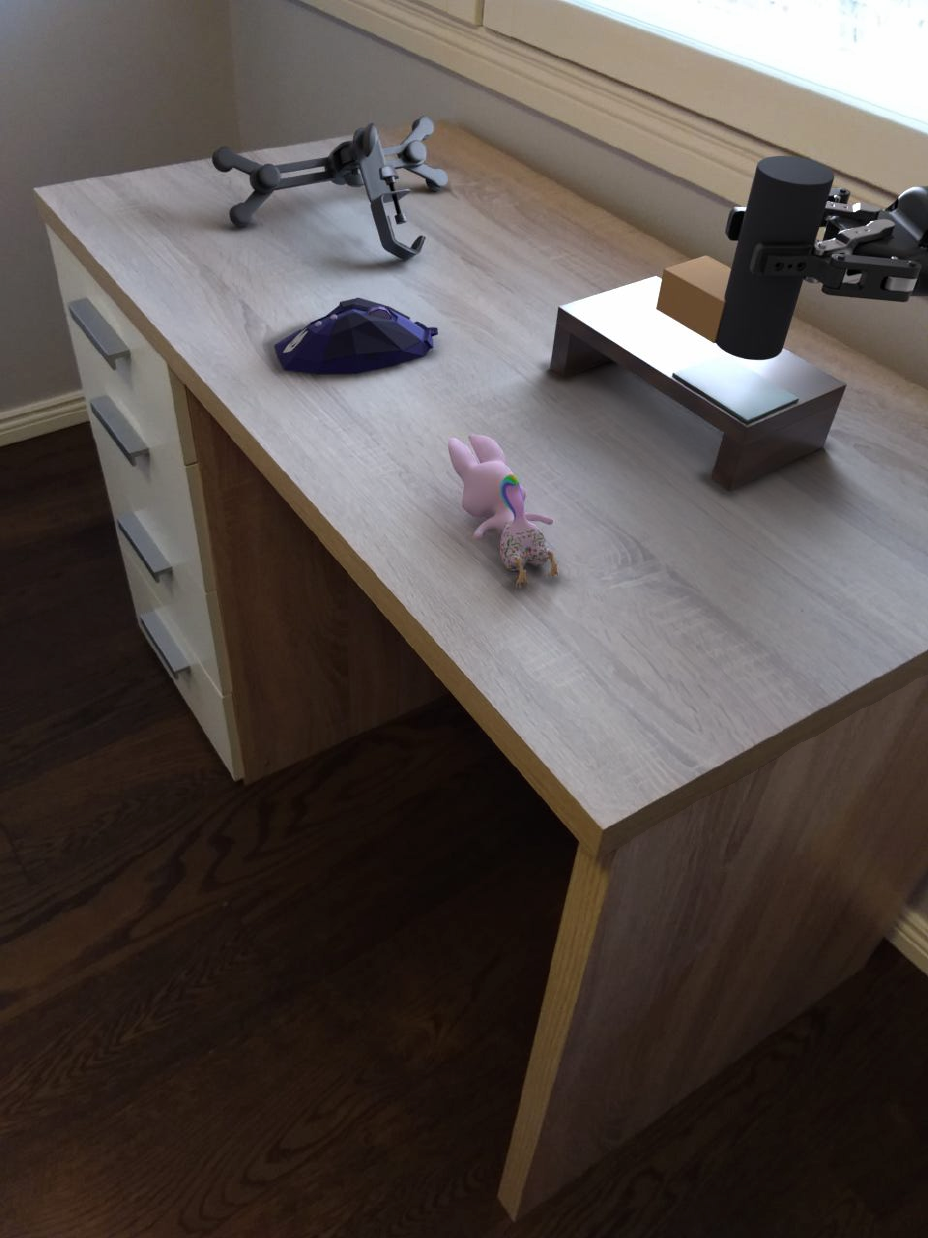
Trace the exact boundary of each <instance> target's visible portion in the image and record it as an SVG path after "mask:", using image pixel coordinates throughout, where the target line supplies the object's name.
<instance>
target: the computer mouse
mask: <svg viewBox="0 0 928 1238" xmlns="http://www.w3.org/2000/svg"><path fill="white" fill-rule="evenodd" d="M438 334H439V330H438V327H435V326H430V327H429V326H427V325H425V324H424V323H422V322H419V321H412V320H411V317H410V316H408V315H406V314H404V313H403V312H402V311H401V312H400V311H399V310H397V309H395V308H394V307H391V306H389V305H385V304H382V303H378V302H376V301H372V300H368V299H365V298H362V297H355V298H350V299H346V300H341V301H339V305H337V306H336V307H335V308H333V309H332V310H331V311H330V312H328V313H327V314H326V315H324V316H322V317H320V318H317V319H315V320H313V321H311V322H310V323H308V324H307V325H306V326H304V327H303V328H299V329H298V330H296V331H294V332H293V333H290V335H288V336H287V337H285V338H283V339H281V340H280V341H278V342H276V343H275V344H274V348H275V353H276V356H277V359H278V361H279V363H280V365H281V367H282V369H283V371H290V372H297V373H305V374H311V375H355V374H356V375H358V374H362V373H363V374H364V373H367V372H372V371H376V370H381V369H386V368H390V367H394V366H397V365H400V364H404V363H407V362H410V361H414V360H416V359H419V358H422V357H425V356H426V355H427V354H428V353H429V352H430V351H432V350H433V349H434V348H435V347H434V339H433V337H435V336H437V335H438Z"/></svg>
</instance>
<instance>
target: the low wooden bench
mask: <svg viewBox="0 0 928 1238" xmlns="http://www.w3.org/2000/svg"><path fill="white" fill-rule="evenodd" d="M661 281H662V278H661V277H658V276H657V275H655V276H652V277H648V278H646V279H641V280H639V281H636V282H632V283H629V284H626V285H623V286H620V287H616V288H613V289H611V290H607V291H604V292H600V293H597V294H594V295H591V296H587V297H585V298H581V299H577V300H575V301H572V302H569V303H568V302H567V303H565V304H562V305H559V306H558V307H557V313H556V319H555V327H554V335H553V342H552V350H551V357H550V365H549V368H550V369H551V370H553V371H554V372H555V373H557V374H558V375H560V376H561V377H563V378H565V377H569V376H572V375H574V374H577V373H580V372H582V371H585V370H588V369H591V368H594V367H597V366H599V365H602V364H606V363H609V362H611V361H613V362H615V363H616V364H618V365H619V366H621V367H622V368H624V369H625V370H627V371H628V372H630V374H633V375H635V376H636V377H638V378H639V379H640V380H642V381H644V382H645V383H646V384H648V385H650V386H651V387H653V388H654V389H656V390H657V391H659V392H661V393H662V394H664V395H665V396H666V397H668V398H670V399H671V400H673V401H674V402H675V403H677V404H679V405H680V406H682V407H683V408H684V409H686V410H688V411H690V413H692V414H694V415H695V416H697V417H699V418H700V419H702V420H703V421H705V422H706V423H708V424H709V425H710V426H713V427H714V428H715V429H717V430H719V431H720V432H722V433H723V434H722V438H721V440H720V444H719V448H718V451H717V454H716V457H715V461H714V465H713V469H712V472H711V475H710V480H712V481H713V482H714V483H716V484H717V485H718V486H720V487H721V488H723V489H724V490H726V491H727V492H730V491H732V490H734V489H736V488H738V487H741V486H742V485H745V484H747V483H750V482H751V481H753V480H756V479H759V478H760V477H762V476H764V475H766V474H768V473H770V472H772V471H775V470H777V469H778V468H781V467H783V466H785V465H788V464H790V463H791V462H793V461H795V460H798V459H799V458H802V457H805V456H806V455H808V454H810V453H813V452H814V451H817V450H819V449H821V448H823V447H825V444H826V441H827V439H828V436H829V433H830V431H831V428H832V425H833V422H834V420H835V417H836V414H837V412H838V410H839V406H840V404H841V402H842V399H843V397H844V393H845V390H846V388H847V386H848V384H847V383H845V382H843V381H842V380H841V379H838V378H836V377H835V376H833V375H831V374H830V373H827V372H826V371H824V370H822V369H821V368H819V367H817V366H815V365H814V364H812V363H810V362H808V361H807V360H805V359H804V358H801V357H800V356H798V355H796V354H794V353H792V352H791V351H789V350H787V349H785V348H784V347H783V349H782V352H781V353H780V354H779V355H778V356H776V357H774V358H772V359H767V360H748V359H743V358H739V357H736V356H733V355H731V354H728V353H727V352H725V351H723V350H722V349H721V348H719V347H718V346H717V344H716V343H712V342H711V341H709V340H707V339H706V338H704V337H702V336H700V335H699V334H697V333H695V332H694V331H692V330H690V329H689V328H687V327H685V326H683V325H682V324H680V323H678V322H677V321H675V320H673V319H672V318H670V317H668V316H667V315H665V314H663V313H661V312H660V311H658V310H656V306H657V301H658V296H659V291H660V286H661Z"/></svg>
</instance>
